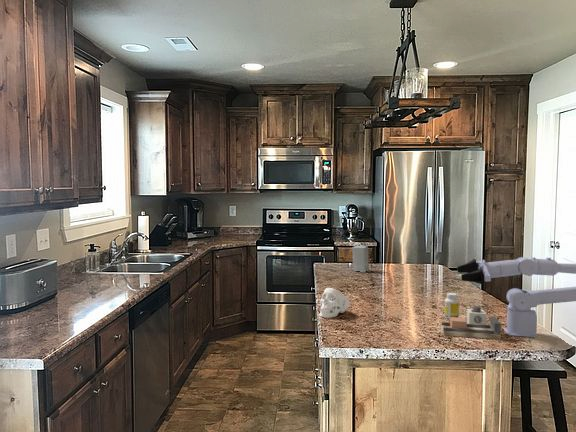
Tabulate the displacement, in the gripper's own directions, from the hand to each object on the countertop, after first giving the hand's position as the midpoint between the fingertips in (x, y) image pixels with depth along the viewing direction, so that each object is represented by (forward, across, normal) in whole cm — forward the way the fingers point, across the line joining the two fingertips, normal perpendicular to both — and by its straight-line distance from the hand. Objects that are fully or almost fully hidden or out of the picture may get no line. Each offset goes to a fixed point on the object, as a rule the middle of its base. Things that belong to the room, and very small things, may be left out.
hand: (459, 273), depth 174 cm
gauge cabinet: (-4, -2, +23) cm, 24 cm away
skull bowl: (+50, -9, +16) cm, 54 cm away
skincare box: (+44, -107, +39) cm, 122 cm away
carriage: (+4, +8, +18) cm, 20 cm away
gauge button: (-5, -3, +21) cm, 22 cm away
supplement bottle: (+3, -11, +24) cm, 27 cm away
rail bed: (0, +8, +20) cm, 22 cm away
